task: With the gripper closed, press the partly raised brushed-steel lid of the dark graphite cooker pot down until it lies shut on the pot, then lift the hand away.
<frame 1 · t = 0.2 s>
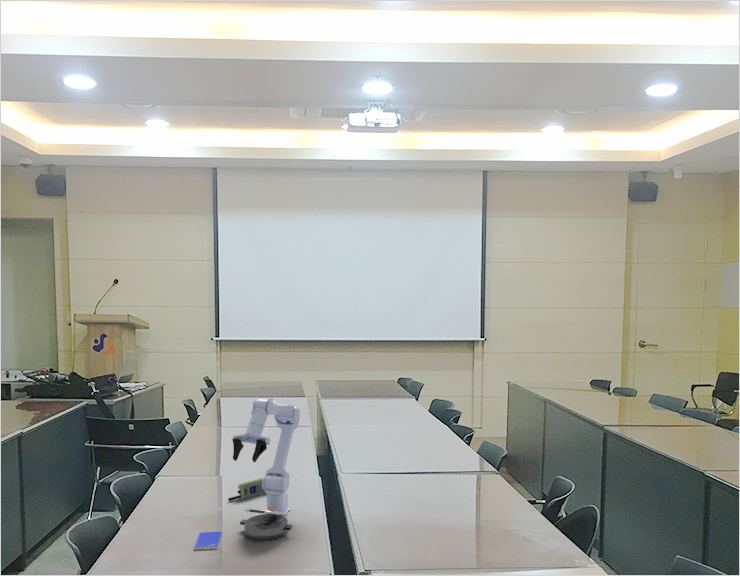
hand: (244, 460, 219), 30 cm above the table, tool tilted 45°, fingers open, 7 cm apart
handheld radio: (254, 496, 268), on the table
hard drive: (208, 543, 221), on the table
lid: (266, 510, 229), point 8 cm above the table, hinge at 22.0°
cooker pot: (266, 532, 229), on the table
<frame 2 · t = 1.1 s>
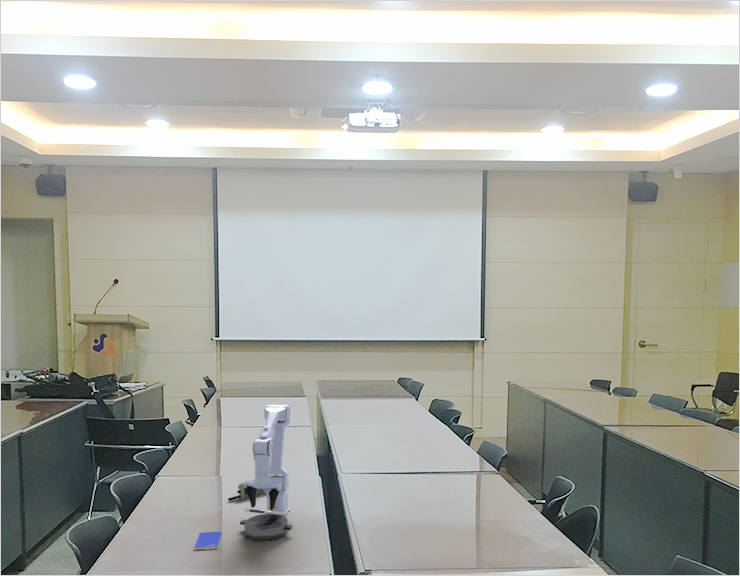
hand: (262, 507, 226), 11 cm above the table, tool pointing down, fingers open, 7 cm apart
nothing on the table moved.
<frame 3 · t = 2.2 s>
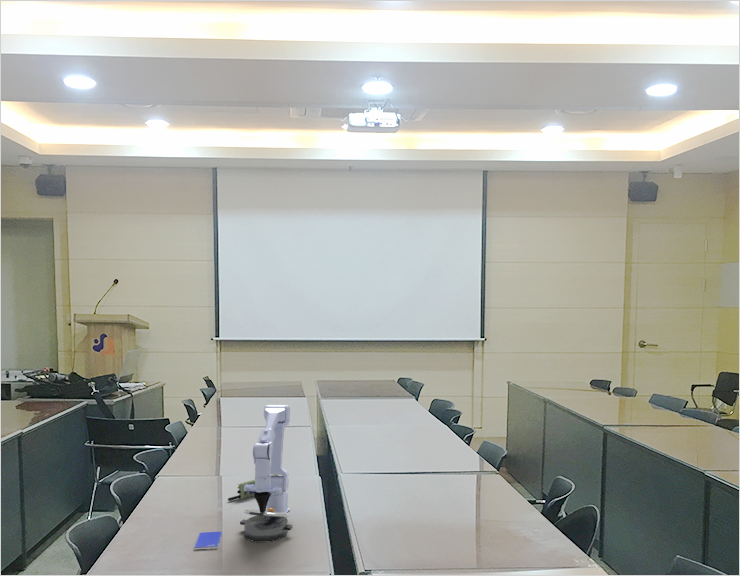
hand: (262, 511, 226), 9 cm above the table, tool pointing down, fingers closed, pressing on lid
lid: (266, 511, 229), point 8 cm above the table, hinge at 19.1°, touching gripper
everything else where it was.
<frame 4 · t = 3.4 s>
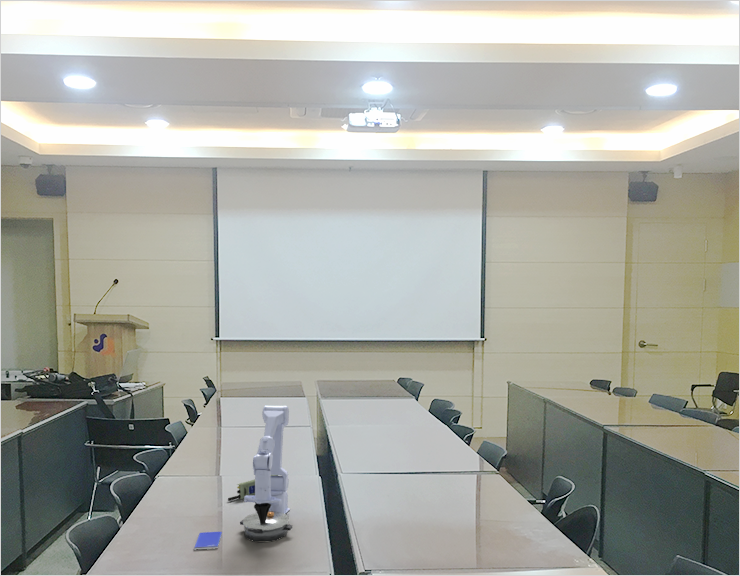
hand: (263, 522, 226), 5 cm above the table, tool pointing down, fingers closed, pressing on lid
lid: (265, 519, 228), point 5 cm above the table, hinge at 0.6°, touching gripper
everything else where it was.
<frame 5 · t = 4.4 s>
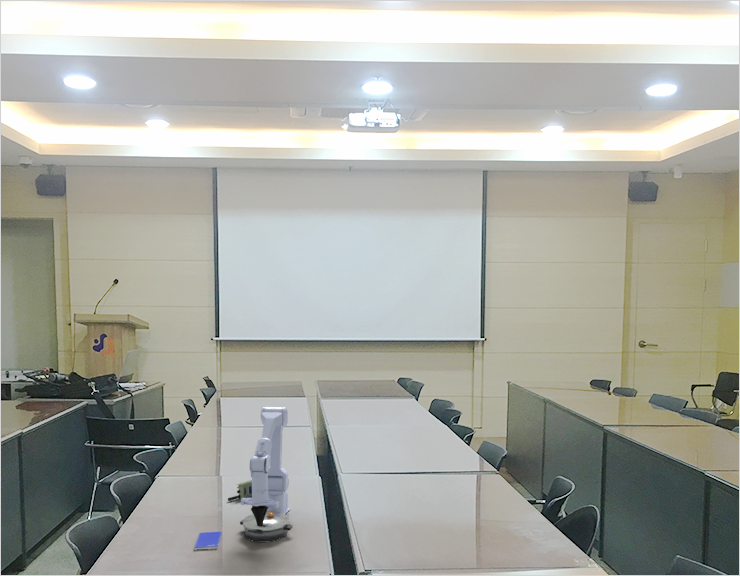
hand: (260, 525, 224), 5 cm above the table, tool pointing down, fingers closed
lid: (265, 520, 228), point 5 cm above the table, hinge at -0.1°
everything else where it was.
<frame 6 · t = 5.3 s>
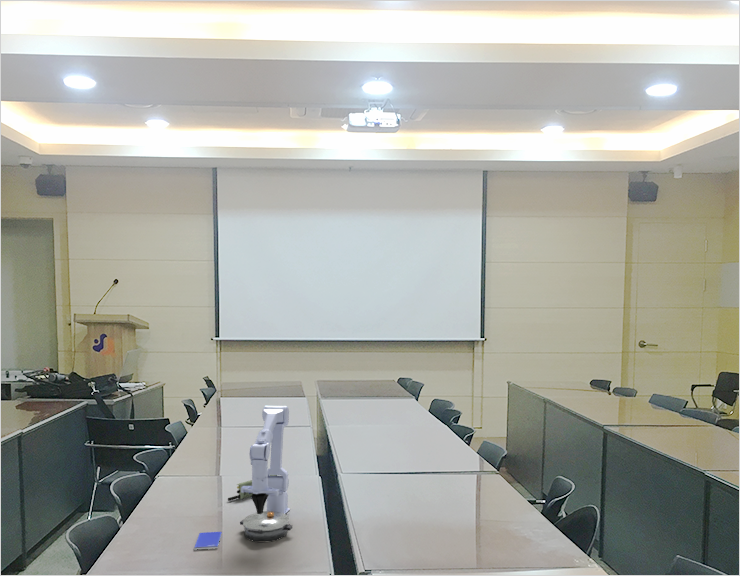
hand: (260, 513, 224), 9 cm above the table, tool pointing down, fingers closed
nothing on the table moved.
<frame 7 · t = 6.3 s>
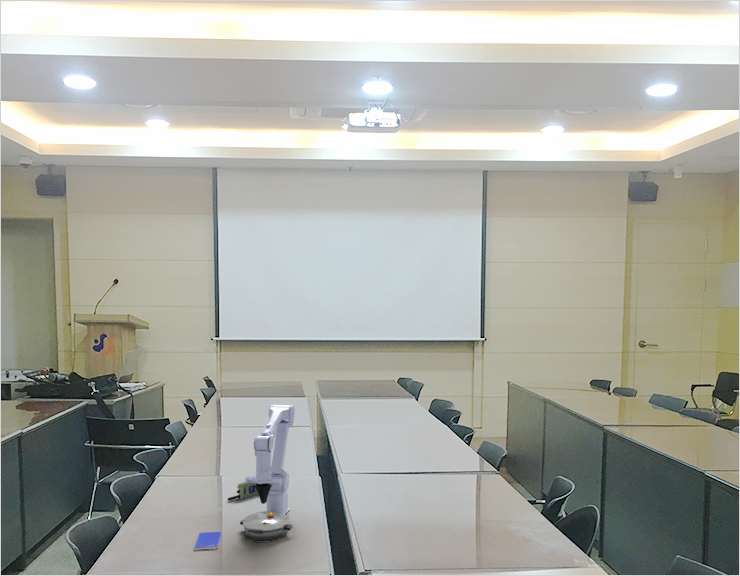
hand: (263, 502, 231), 10 cm above the table, tool pointing down, fingers closed
nothing on the table moved.
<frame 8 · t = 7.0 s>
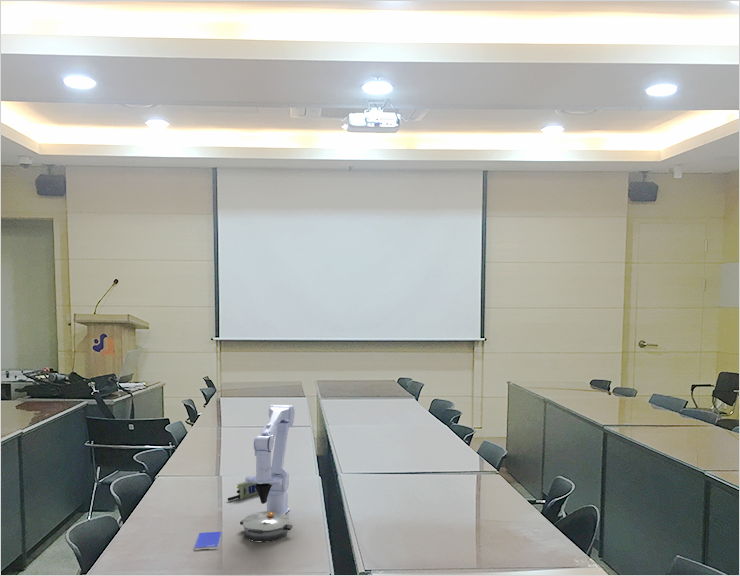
hand: (263, 502, 231), 10 cm above the table, tool pointing down, fingers closed
at the end: lid at +0° (first picture: +22°) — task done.
